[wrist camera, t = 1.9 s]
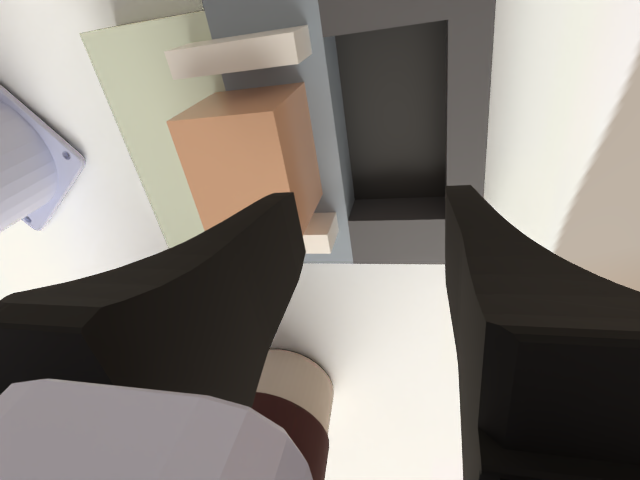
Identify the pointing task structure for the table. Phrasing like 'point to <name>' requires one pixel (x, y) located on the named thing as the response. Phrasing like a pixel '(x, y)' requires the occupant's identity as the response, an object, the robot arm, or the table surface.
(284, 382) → the coffee cup
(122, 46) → the pad
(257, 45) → the channel walls
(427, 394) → the table surface
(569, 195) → the table surface
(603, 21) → the table surface
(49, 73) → the table surface
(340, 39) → the gray recessed tray
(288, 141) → the terracotta block
